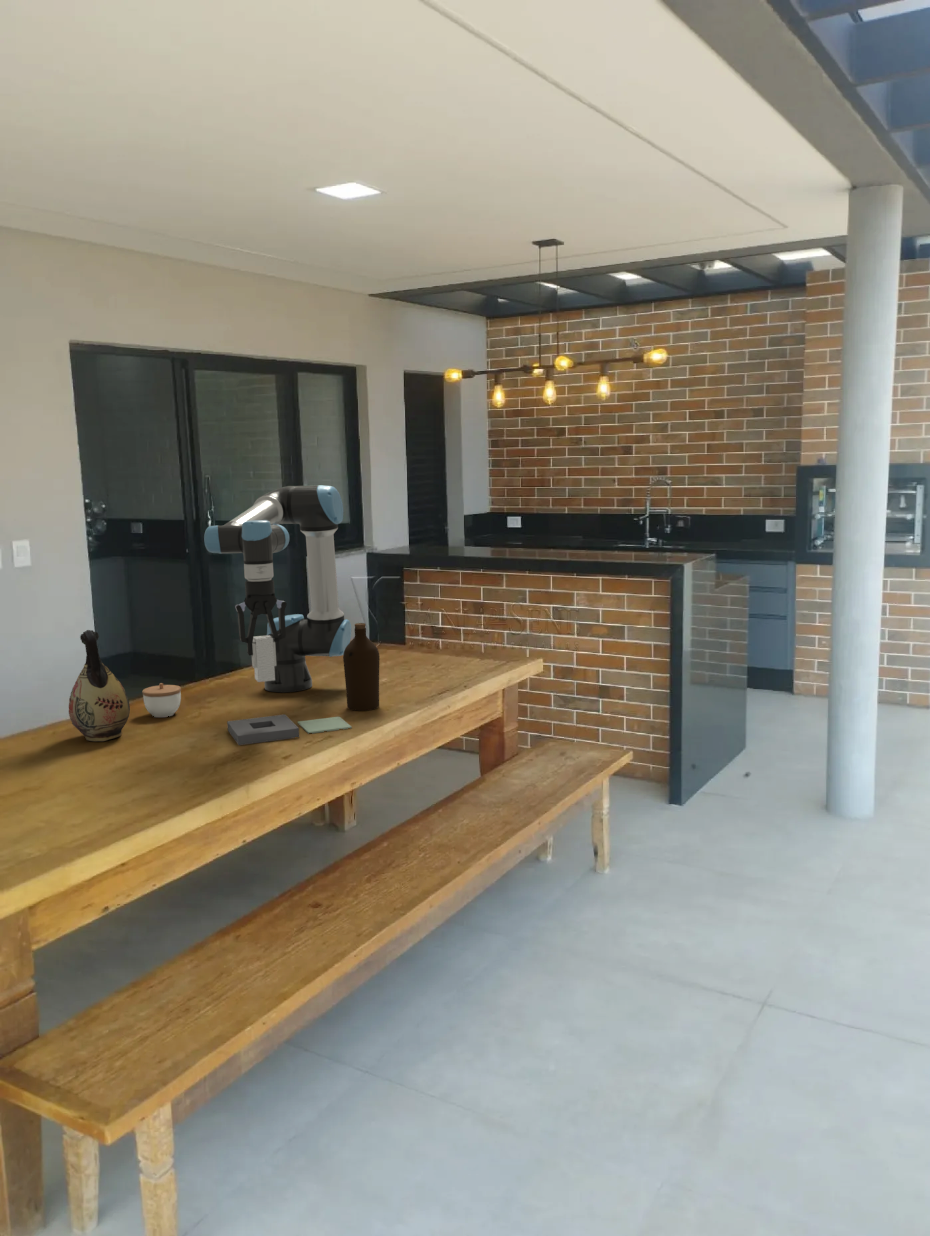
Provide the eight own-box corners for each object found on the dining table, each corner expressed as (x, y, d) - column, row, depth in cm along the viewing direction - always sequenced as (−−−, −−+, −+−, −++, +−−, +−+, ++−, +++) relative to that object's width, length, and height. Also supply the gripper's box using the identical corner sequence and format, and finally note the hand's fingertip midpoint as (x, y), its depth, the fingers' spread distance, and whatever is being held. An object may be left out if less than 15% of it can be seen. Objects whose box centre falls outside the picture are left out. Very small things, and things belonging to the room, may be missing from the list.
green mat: (297, 723, 279) (297, 721, 279) (339, 718, 284) (339, 716, 284) (308, 734, 269) (308, 732, 268) (351, 728, 273) (351, 726, 273)
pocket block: (227, 730, 274) (227, 721, 274) (285, 723, 280) (284, 714, 280) (238, 745, 259) (238, 735, 259) (299, 737, 266) (298, 728, 265)
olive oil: (379, 711, 291) (376, 626, 287) (343, 712, 291) (339, 627, 287) (382, 702, 301) (379, 620, 297) (347, 703, 301) (344, 621, 297)
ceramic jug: (70, 734, 274) (60, 626, 269) (129, 727, 280) (120, 621, 275) (72, 750, 258) (62, 636, 253) (135, 742, 264) (126, 630, 259)
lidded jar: (190, 712, 295) (188, 681, 293) (165, 721, 285) (162, 689, 284) (161, 708, 299) (159, 678, 298) (136, 717, 290) (133, 686, 288)
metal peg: (254, 678, 269) (252, 636, 267) (271, 676, 271) (269, 635, 269) (258, 682, 265) (255, 639, 263) (275, 680, 267) (272, 637, 265)
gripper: (227, 583, 257) (233, 672, 261) (295, 578, 263) (299, 665, 267) (223, 580, 264) (228, 666, 268) (289, 575, 270) (293, 660, 274)
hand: (264, 665), depth 267 cm, fingers closed on metal peg, 4 cm apart
